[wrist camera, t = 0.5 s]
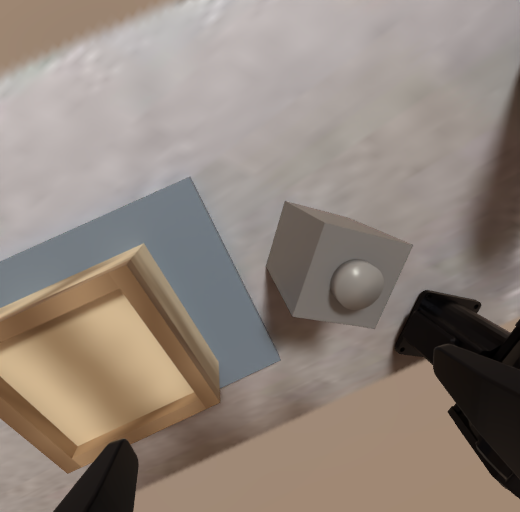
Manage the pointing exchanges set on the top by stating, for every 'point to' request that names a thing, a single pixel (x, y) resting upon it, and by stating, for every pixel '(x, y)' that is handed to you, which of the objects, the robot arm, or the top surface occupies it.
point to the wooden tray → (102, 360)
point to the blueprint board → (170, 263)
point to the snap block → (334, 266)
